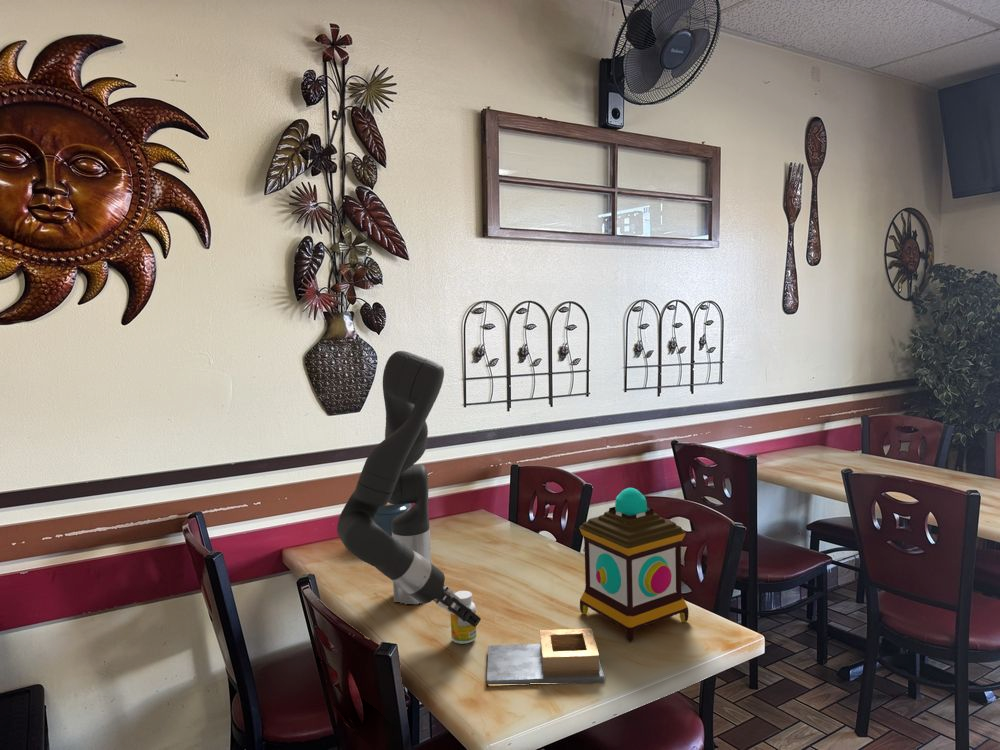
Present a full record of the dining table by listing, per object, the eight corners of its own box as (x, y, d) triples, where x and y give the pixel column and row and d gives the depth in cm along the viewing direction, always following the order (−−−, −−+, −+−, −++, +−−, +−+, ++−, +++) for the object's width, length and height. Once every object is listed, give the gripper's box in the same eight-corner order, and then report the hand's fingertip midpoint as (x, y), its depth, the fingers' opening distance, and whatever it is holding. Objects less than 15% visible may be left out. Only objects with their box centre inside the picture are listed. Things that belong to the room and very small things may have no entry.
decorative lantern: (571, 612, 153) (567, 485, 150) (636, 591, 163) (633, 472, 160) (629, 649, 136) (626, 506, 133) (698, 623, 146) (696, 489, 143)
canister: (368, 540, 208) (365, 485, 206) (409, 534, 212) (406, 480, 210) (373, 554, 196) (369, 495, 194) (416, 547, 200) (413, 490, 198)
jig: (487, 686, 124) (486, 662, 124) (488, 651, 137) (487, 629, 137) (604, 682, 124) (603, 658, 124) (594, 647, 137) (594, 625, 137)
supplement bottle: (451, 632, 144) (449, 589, 143) (476, 631, 145) (474, 588, 144) (451, 645, 139) (449, 600, 138) (477, 643, 139) (475, 599, 138)
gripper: (443, 572, 130) (498, 615, 137) (414, 550, 143) (466, 590, 150) (419, 604, 128) (476, 646, 135) (392, 579, 140) (446, 618, 148)
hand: (470, 616), depth 142 cm, fingers closed on supplement bottle, 5 cm apart
